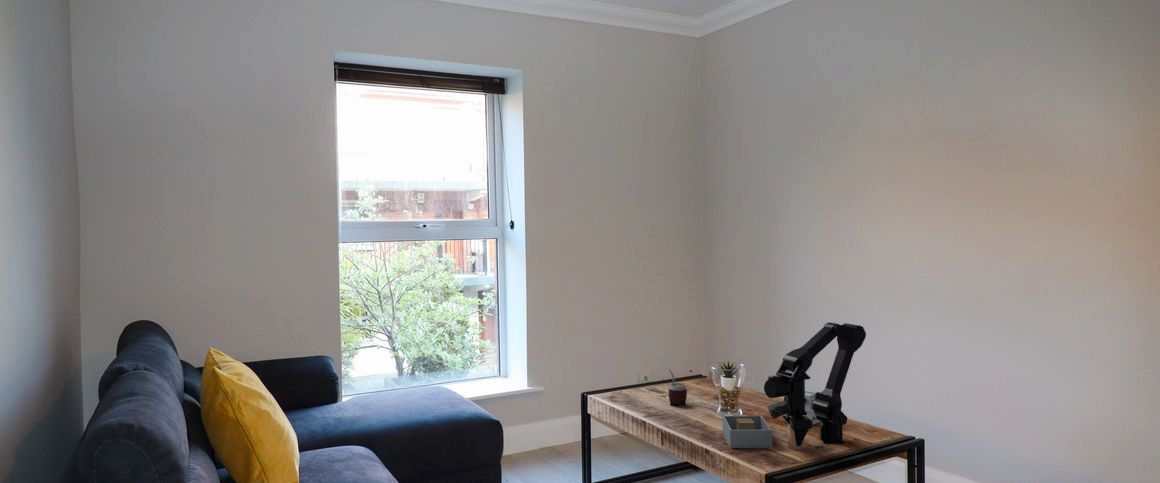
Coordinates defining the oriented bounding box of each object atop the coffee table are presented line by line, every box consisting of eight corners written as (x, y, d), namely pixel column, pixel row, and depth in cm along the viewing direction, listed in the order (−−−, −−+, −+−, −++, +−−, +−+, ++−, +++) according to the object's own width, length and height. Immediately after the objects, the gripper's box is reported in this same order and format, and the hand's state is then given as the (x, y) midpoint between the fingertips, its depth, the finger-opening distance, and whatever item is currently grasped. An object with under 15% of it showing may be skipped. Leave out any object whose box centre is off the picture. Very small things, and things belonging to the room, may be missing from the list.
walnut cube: (754, 437, 250) (754, 422, 250) (739, 437, 250) (738, 422, 250) (751, 433, 255) (751, 418, 255) (736, 433, 255) (736, 418, 255)
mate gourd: (685, 402, 300) (684, 364, 300) (688, 407, 292) (688, 369, 292) (666, 403, 300) (665, 365, 299) (669, 408, 292) (668, 369, 291)
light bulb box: (820, 422, 269) (819, 391, 268) (811, 426, 264) (811, 395, 264) (792, 417, 276) (792, 387, 276) (783, 421, 271) (783, 391, 271)
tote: (761, 431, 258) (761, 415, 258) (772, 447, 241) (772, 430, 241) (722, 432, 259) (722, 415, 259) (730, 447, 242) (730, 430, 242)
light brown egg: (802, 445, 243) (801, 423, 243) (806, 450, 238) (805, 428, 238) (786, 445, 243) (786, 423, 243) (789, 450, 238) (789, 428, 238)
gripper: (764, 387, 250) (764, 434, 250) (775, 401, 231) (776, 452, 232) (798, 387, 249) (798, 434, 250) (813, 401, 230) (813, 452, 231)
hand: (796, 443), depth 240 cm, fingers open, 6 cm apart
